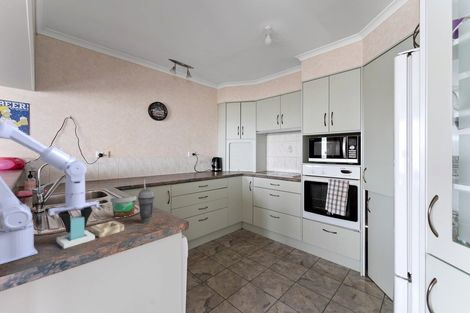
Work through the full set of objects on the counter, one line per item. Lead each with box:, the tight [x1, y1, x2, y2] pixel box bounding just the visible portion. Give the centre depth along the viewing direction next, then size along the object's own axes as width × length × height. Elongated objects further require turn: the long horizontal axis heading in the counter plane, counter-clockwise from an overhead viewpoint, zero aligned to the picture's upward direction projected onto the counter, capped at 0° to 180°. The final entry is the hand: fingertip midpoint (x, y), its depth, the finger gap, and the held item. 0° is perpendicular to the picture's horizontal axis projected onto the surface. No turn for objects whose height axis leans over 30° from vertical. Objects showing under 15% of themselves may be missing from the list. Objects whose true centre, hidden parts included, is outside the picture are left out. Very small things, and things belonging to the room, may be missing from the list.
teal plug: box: [66, 214, 85, 241], centre depth 73 cm, size 4×4×8 cm
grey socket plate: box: [56, 229, 96, 249], centre depth 73 cm, size 9×9×2 cm
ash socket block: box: [90, 220, 125, 239], centre depth 82 cm, size 9×9×2 cm
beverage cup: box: [137, 179, 155, 224], centre depth 94 cm, size 7×7×20 cm
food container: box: [110, 195, 138, 218], centre depth 101 cm, size 12×6×10 cm, turn 105°
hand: (75, 229), depth 73 cm, fingers closed on teal plug, 4 cm apart
